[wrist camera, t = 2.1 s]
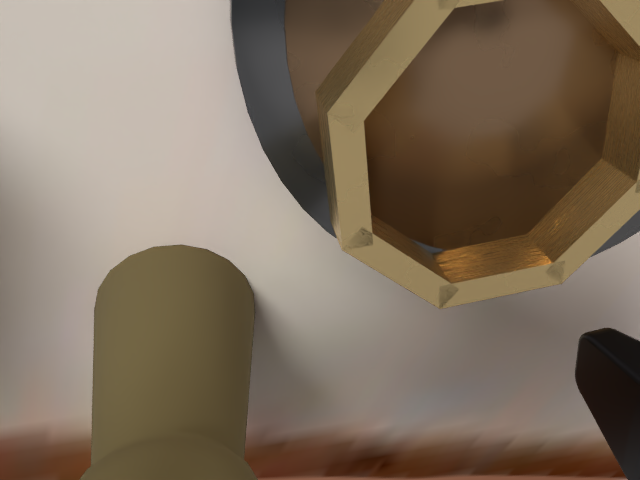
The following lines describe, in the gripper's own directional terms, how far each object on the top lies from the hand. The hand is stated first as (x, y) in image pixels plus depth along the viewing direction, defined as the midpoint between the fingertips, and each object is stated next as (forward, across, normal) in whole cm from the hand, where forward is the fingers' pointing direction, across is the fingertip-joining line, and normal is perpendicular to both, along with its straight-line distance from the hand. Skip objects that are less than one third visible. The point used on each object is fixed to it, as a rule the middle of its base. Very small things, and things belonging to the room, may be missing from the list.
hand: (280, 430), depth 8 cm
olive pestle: (+13, +4, +7) cm, 15 cm away
